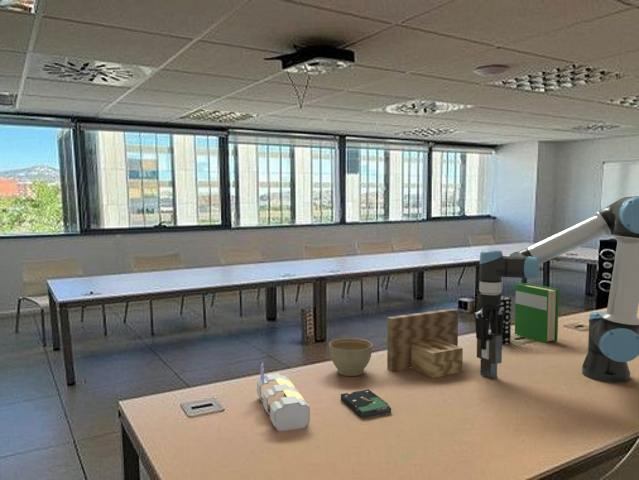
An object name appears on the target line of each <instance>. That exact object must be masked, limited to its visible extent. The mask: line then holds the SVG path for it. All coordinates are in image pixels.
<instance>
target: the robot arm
mask: <svg viewBox="0 0 639 480" xmlns="http://www.w3.org/2000/svg"><path fill="white" fill-rule="evenodd" d="M603 236H609V237H611V236H613V237H614V239H615V240H616V243H617V244H616V247H615V248H616V249H615V256H614V262H613V268H612V275H611V282H610V288H609V295H608V302H607V306H606V307H607V308H606V311H605V312H604V311H593V312H590V314H589V317H588V340H587V341H588V344H587V345H588V346H587V348H588V349H587V354H586V356H585V359H584V361H583V363H582V367H581V373H582V374H583V375H584V376H585V377H588V378H591V379H593V380H597V381H601V382H606V383H626V382H629V381H630V380H631V372H630V368H629V365H628V362H631V361H632V360H635V359H636V358H638V357H639V318H638V312H639V311H638V310H639V195H638V196H637V195H634V196H625V197H622V198H619V199H618V200H616V201H614V202H612V203H611V204H609V205H607V206H605V207H603V208H601V209H599V210H597V211H595V213H594V215H593V216H592V217H589V218H587V219H585V220H583V221H581V222H579V223H577V224H574V225H572V226H570V227H568V228H566V229H564V230H562V231H560V232H557V233H555V234H553V235H551V236H549V237H546V238H545V239H542V240H540V241H538V242H536V243H534V244H532V245H529V246H528V247H525V248H523V249H520V250H519V251H515V252H512V253H510V254H509V255H508V256H507V255H503V251H502V250H499V249H484V250H481V251H480V253H479V283H478V284H479V289H478V290H479V292H480V293H479V294H478V303H479V304H480V307H479V311H477V312H476V311H474V312H473V317H474V319H475V321H474V322H475V337H476V340H477V339H480V340H481V349H482V357H483V358H485V359H489V341H487V339H488V331H490V332H493V333H496V334H500V335H502V334H503V322H504V315H505V312H506V311H505V310H503V309H500V306H499V305H500V304H501V296H502V294H501V293H502V290H503V289H502V285H503V283H502V282H503V281H502V280H503V279H502V278H518V279H519V278H520V279H536V278H538V277H539V274H540V265H541V264H543V263H546V262H547V261H550V260H552V259H555V258H557V257H559V256H561V255H563V254H566V253H568V252H570V251H572V250H575V249H577V248H578V247H581V246H585V245H586V244H588V243H591V242H593V241H594V240H597V239H599V238H601V237H603ZM489 329H490V330H489ZM498 332H499V333H498Z"/></svg>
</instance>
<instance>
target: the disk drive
mask: <svg viewBox="0 0 639 480" xmlns="http://www.w3.org/2000/svg"><path fill="white" fill-rule="evenodd" d="M340 402H342V404H343V405H346V407H347V408H349V409H350V410H351V411H352V412H353V413H354V414H356V417H359V418H360V419H362V420H363V419H367V418H373V417H379V416H383V415H388V414H390V415H391V414H392V408H391V406H390V404H389V403H388V402H387V401H385V400H384V399H382V398H381V397H380V396H379V395H376V393H374V392H373V391H372V390H370V389H364V390H357V391H352V392H351V393H348V392H344V393H341V394H340Z"/></svg>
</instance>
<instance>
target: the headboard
mask: <svg viewBox="0 0 639 480" xmlns="http://www.w3.org/2000/svg"><path fill="white" fill-rule="evenodd" d="M386 323H387V326H386V327H387V328H386V329H387V331H386V332H387V336H386V337H387V341H386V343H387V345H386V348H387V349H386V350H387V352H386V354H387V357H386V358H387V359H386V361H387V362H386V364H387V366H386V367H387V370H388V369H389V370H388V371H390V372H396V370H397V371H401V370H406V369H413V370H415V371H418V372H419V373H422V374H424V375H426V376H427V377H430V378H431V379H434V378H440V377H444V376H449V375H453V374H458V373H463V362H464V361H463V360H464V359H463V355H464V354H463V353H464V351H463V349H464V348H463V347H460V346H458V345H459V343H458V342H459V341H458V340H459V309H456V308H447V309H440V310H432V311H424V312H417V313H409V314H400V315H394V316H388V317H387V322H386Z"/></svg>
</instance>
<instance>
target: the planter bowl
mask: <svg viewBox="0 0 639 480" xmlns="http://www.w3.org/2000/svg"><path fill="white" fill-rule="evenodd" d="M328 348H329V354H330V359H331V360H332V363H333V365H334V366H335V368H336V369H337V372H338V374H339V375H342V376H348V377H357V376H360V375H363V374H364V370H365V369H366V368H367V366H368V364H369V363H370V361H371V357H372V351H373V349H372V348H373V343H372V342H371V341H369V340H366V339H362V338H354V337H353V338H352V337H351V338H349V337H347V338H339V339H332V340H331V341H329V343H328Z"/></svg>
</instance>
